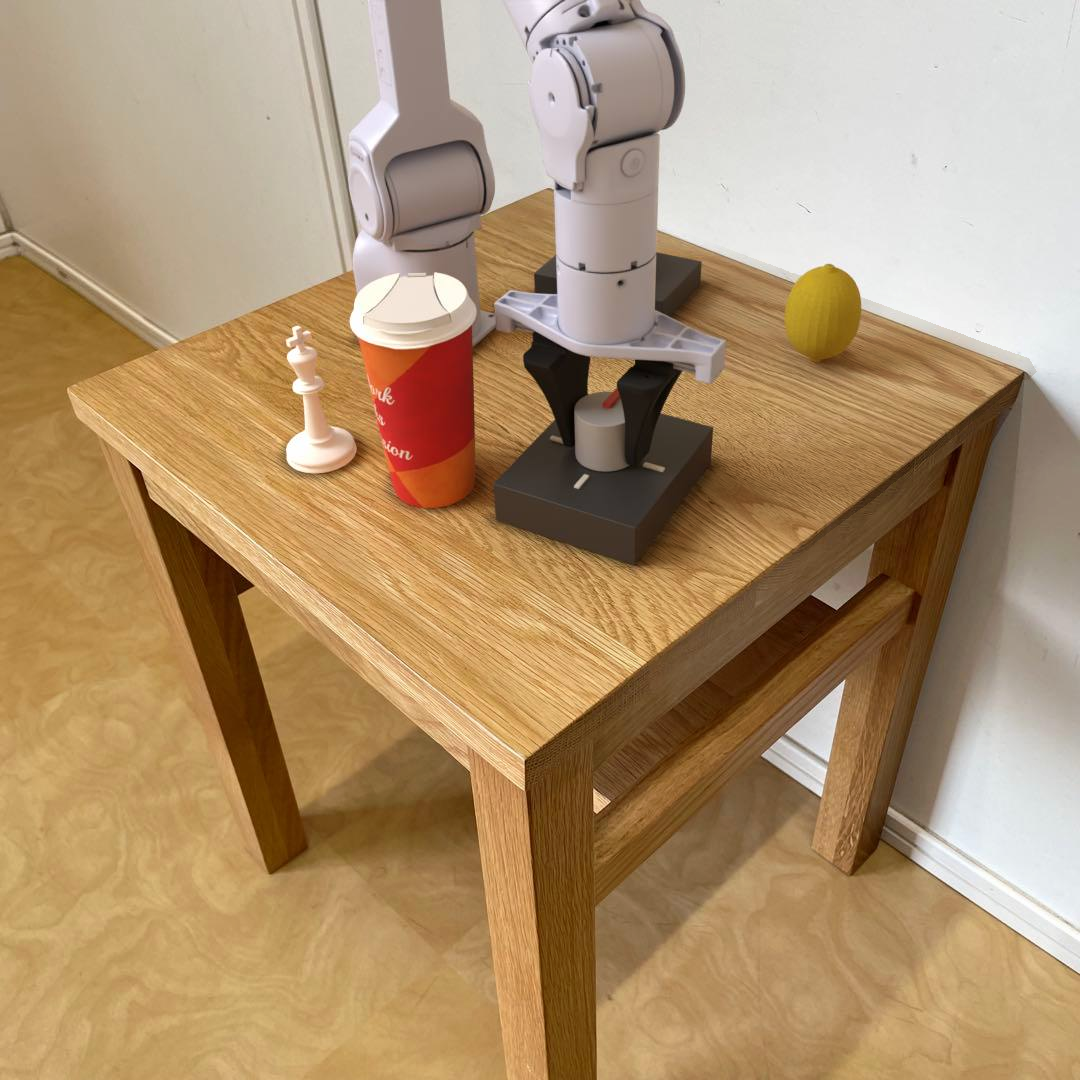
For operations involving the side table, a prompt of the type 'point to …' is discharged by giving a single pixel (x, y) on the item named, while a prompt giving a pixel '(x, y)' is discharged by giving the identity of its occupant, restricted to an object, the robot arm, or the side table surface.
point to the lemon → (823, 312)
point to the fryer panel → (603, 490)
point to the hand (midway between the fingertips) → (606, 448)
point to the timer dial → (600, 432)
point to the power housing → (670, 287)
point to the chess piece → (314, 416)
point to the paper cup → (421, 382)
